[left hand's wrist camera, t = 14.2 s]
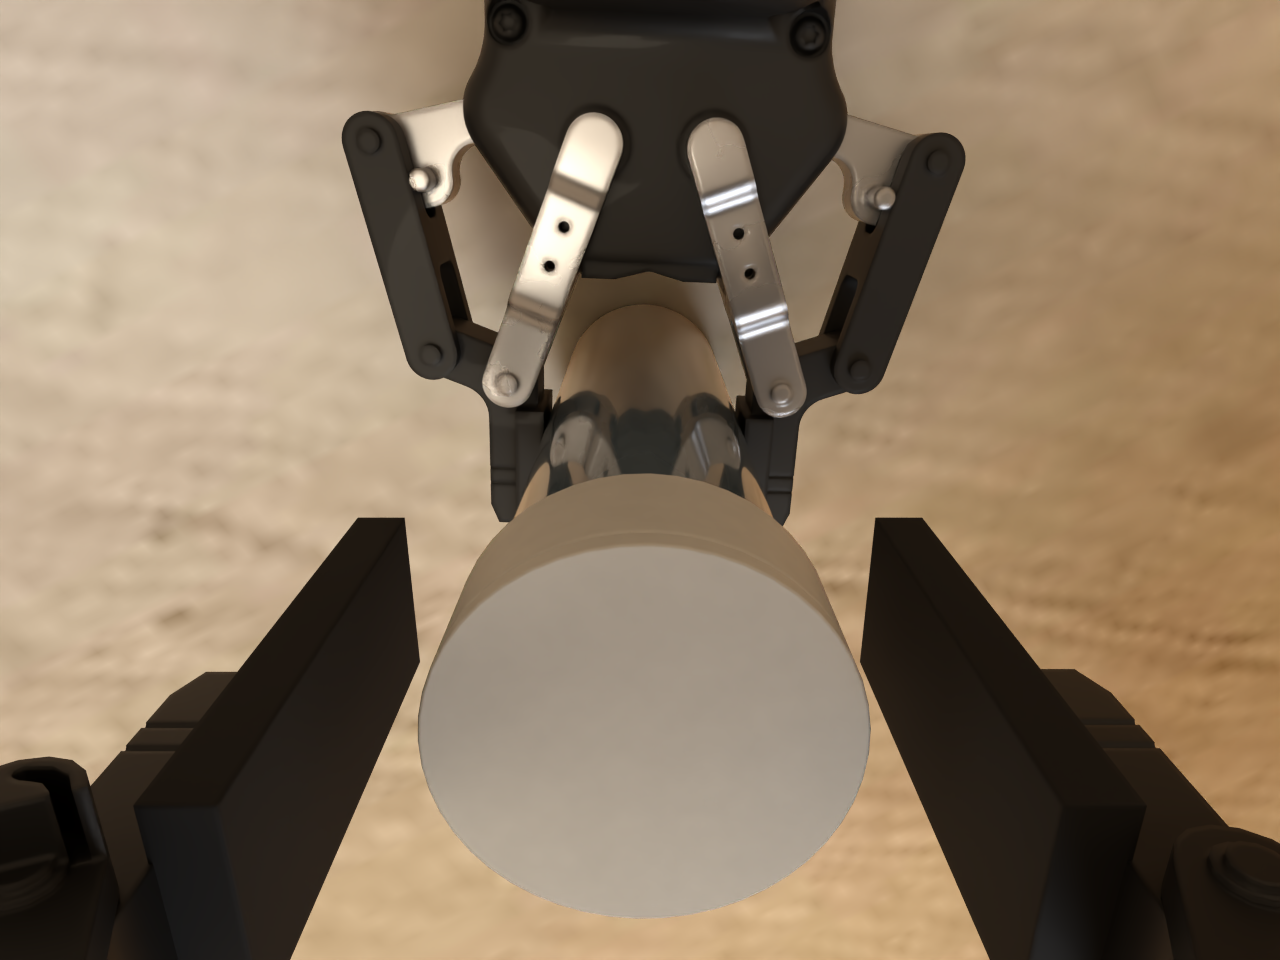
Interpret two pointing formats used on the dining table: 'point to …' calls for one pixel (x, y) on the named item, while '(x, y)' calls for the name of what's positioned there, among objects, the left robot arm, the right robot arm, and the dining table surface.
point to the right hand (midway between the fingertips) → (638, 533)
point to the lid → (643, 701)
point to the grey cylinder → (643, 410)
